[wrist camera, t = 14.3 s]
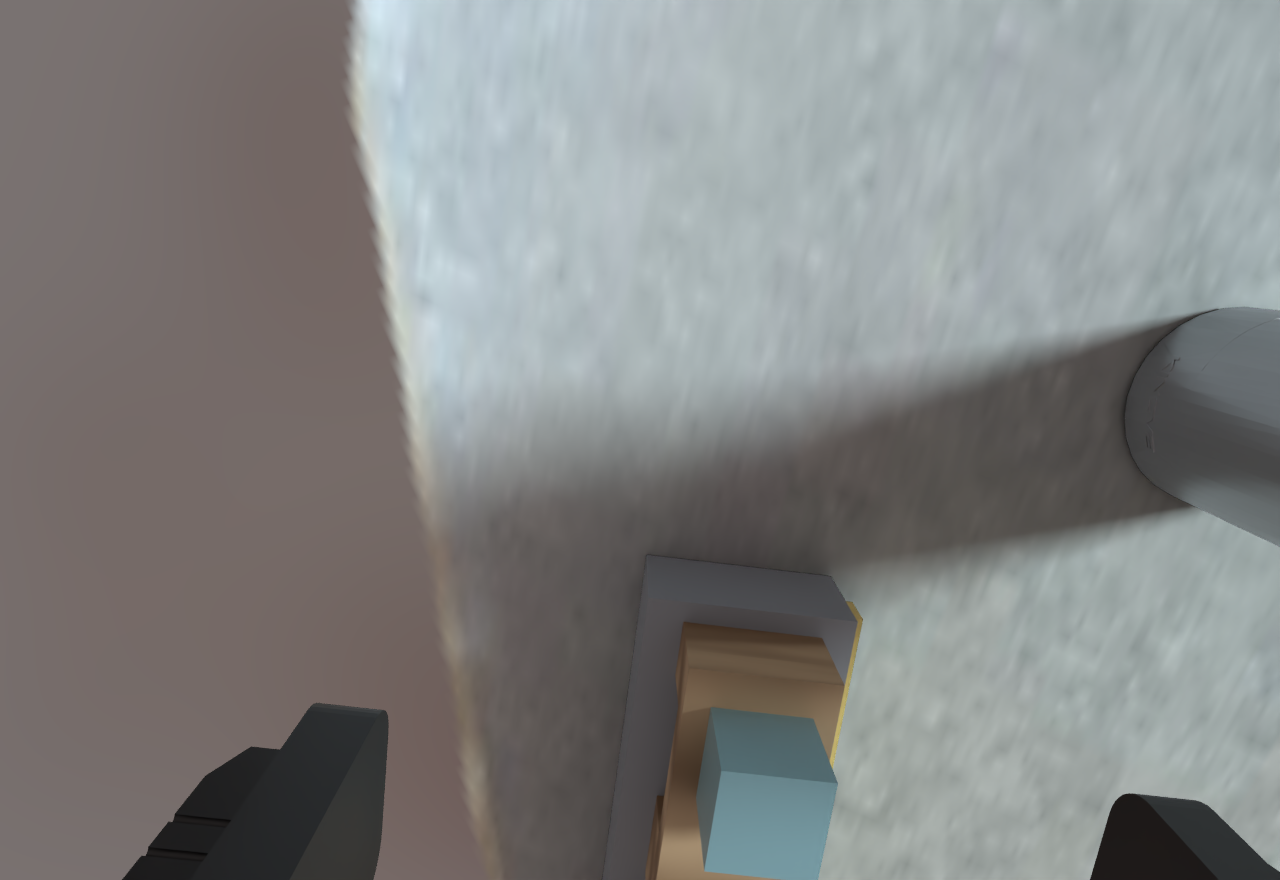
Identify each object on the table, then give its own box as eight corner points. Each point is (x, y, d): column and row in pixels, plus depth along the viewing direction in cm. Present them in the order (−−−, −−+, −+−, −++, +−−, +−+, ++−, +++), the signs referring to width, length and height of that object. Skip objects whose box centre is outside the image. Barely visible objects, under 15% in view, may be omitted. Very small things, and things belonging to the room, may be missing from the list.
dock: (837, 577, 41) (864, 622, 36) (761, 968, 46) (776, 1053, 41) (646, 554, 40) (648, 597, 36) (592, 950, 46) (587, 1035, 41)
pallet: (683, 621, 36) (689, 668, 32) (822, 637, 36) (844, 685, 32) (622, 1020, 41) (621, 1103, 37) (745, 1032, 41) (757, 1116, 37)
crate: (813, 718, 32) (837, 783, 29) (795, 808, 33) (817, 883, 29) (710, 706, 32) (721, 770, 28) (695, 797, 33) (704, 871, 29)
